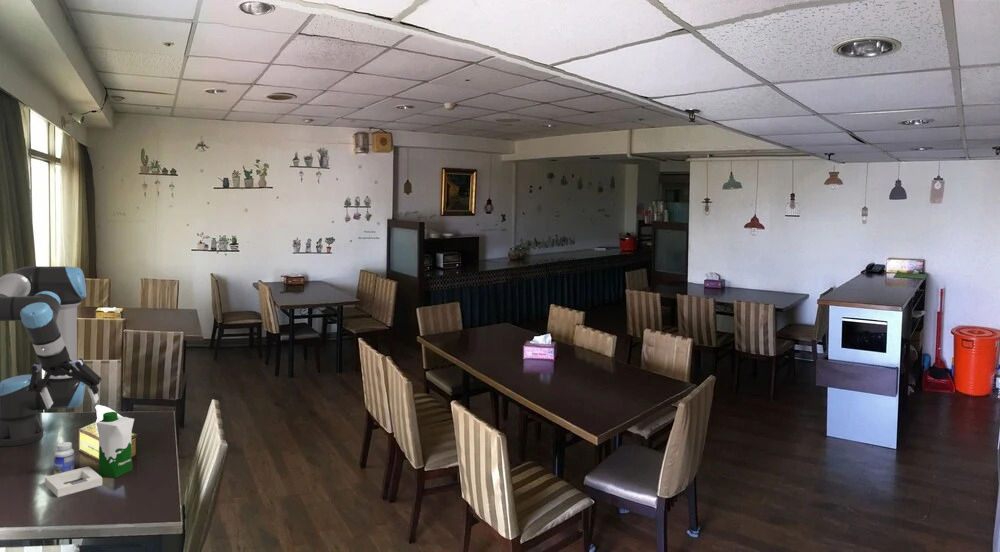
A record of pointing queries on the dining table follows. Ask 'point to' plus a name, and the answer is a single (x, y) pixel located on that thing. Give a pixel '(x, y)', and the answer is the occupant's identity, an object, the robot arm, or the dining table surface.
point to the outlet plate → (61, 489)
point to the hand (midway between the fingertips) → (73, 403)
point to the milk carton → (114, 445)
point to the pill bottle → (63, 458)
